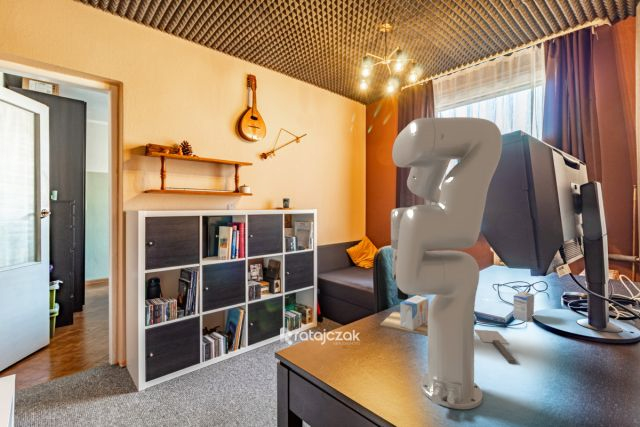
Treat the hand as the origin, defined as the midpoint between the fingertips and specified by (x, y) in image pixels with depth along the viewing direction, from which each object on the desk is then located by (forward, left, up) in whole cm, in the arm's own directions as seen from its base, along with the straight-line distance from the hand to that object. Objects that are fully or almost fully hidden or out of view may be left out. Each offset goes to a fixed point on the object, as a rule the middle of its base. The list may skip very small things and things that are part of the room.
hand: (402, 298), depth 100 cm
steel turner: (+4, -27, -11) cm, 29 cm away
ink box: (0, -1, -6) cm, 6 cm away
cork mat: (+7, 0, -11) cm, 13 cm away
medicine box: (+34, -35, -11) cm, 50 cm away
